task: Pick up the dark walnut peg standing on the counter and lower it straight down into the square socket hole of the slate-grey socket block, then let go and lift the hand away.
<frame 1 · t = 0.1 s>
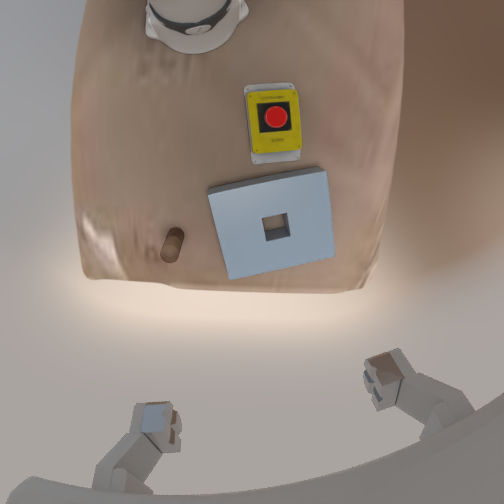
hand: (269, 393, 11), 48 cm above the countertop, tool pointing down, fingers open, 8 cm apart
emergency button: (272, 122, 52), on the countertop
peg: (176, 235, 58), on the countertop
socket block: (272, 218, 59), on the countertop
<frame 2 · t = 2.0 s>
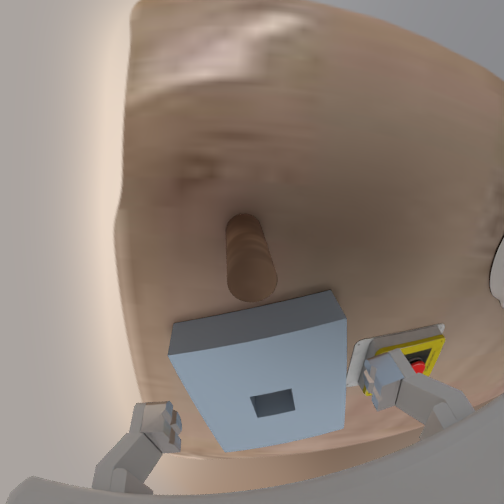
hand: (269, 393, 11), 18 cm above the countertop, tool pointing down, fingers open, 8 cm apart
emergency button: (394, 352, 38), on the countertop
peg: (243, 230, 27), on the countertop
socket block: (268, 373, 36), on the countertop
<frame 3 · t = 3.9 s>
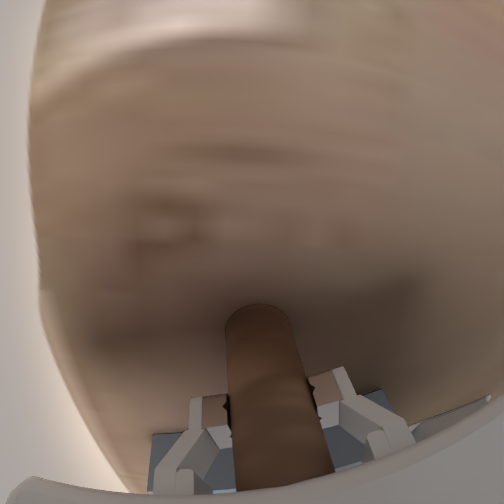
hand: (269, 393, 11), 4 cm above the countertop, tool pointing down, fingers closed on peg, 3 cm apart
emergency button: (433, 428, 26), on the countertop
peg: (257, 330, 15), on the countertop, touching gripper
socket block: (283, 471, 23), on the countertop
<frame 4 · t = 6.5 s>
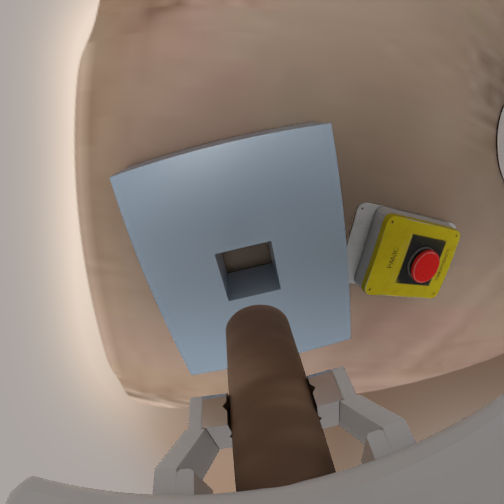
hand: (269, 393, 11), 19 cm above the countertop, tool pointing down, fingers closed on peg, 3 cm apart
emergency button: (399, 248, 32), on the countertop
peg: (257, 330, 15), point 15 cm above the countertop, touching gripper
socket block: (244, 247, 29), on the countertop
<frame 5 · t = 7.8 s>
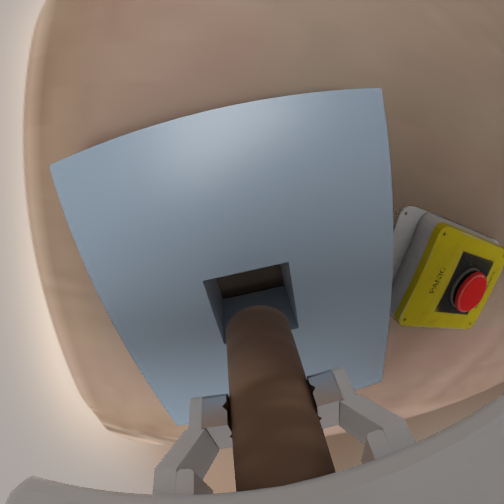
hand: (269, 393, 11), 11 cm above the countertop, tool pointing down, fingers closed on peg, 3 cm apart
emergency button: (438, 267, 24), on the countertop
peg: (257, 331, 15), point 7 cm above the countertop, touching gripper
socket block: (246, 265, 21), on the countertop
when the fingers open (7 cm above the countertop, at t = 9.0 s): peg drops 3 cm, resting in socket block.
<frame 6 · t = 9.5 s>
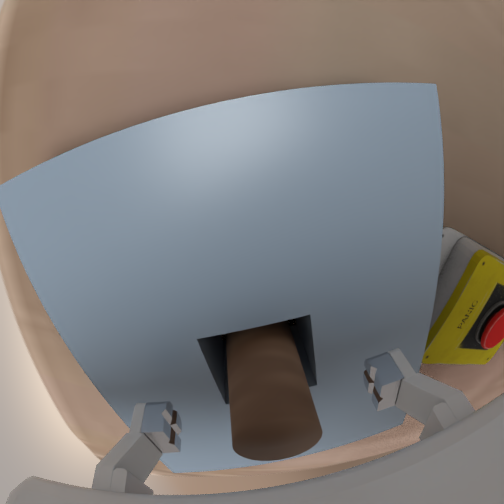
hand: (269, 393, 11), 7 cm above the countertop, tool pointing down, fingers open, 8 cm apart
emergency button: (463, 297, 20), on the countertop
peg: (252, 303, 17), resting in socket block
socket block: (252, 303, 17), on the countertop
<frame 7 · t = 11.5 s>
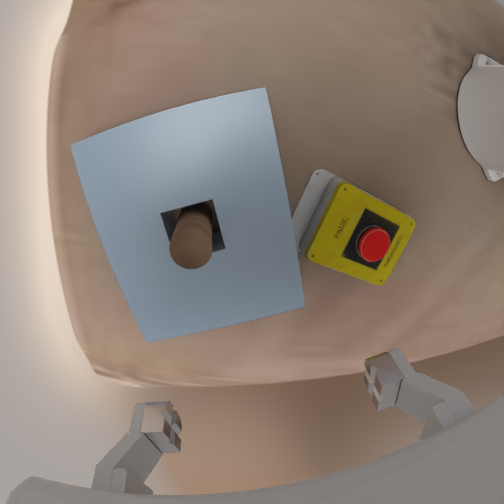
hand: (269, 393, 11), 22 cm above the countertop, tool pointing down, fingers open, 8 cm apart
emergency button: (351, 227, 34), on the countertop
peg: (196, 215, 30), resting in socket block
socket block: (196, 214, 30), on the countertop
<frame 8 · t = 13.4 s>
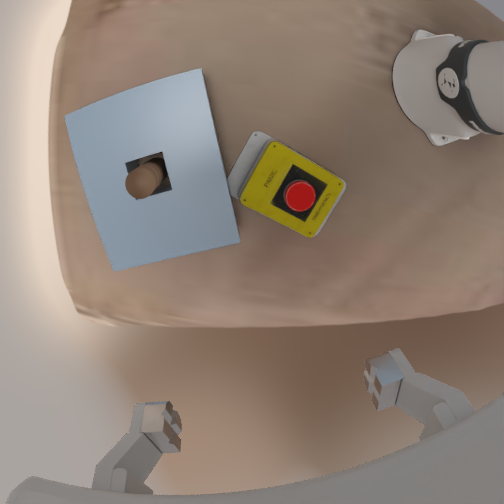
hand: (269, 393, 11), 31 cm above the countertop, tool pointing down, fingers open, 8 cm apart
emergency button: (286, 184, 40), on the countertop
peg: (157, 169, 37), resting in socket block
socket block: (157, 169, 37), on the countertop
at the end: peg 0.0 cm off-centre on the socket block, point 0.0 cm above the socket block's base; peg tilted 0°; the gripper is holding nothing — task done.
